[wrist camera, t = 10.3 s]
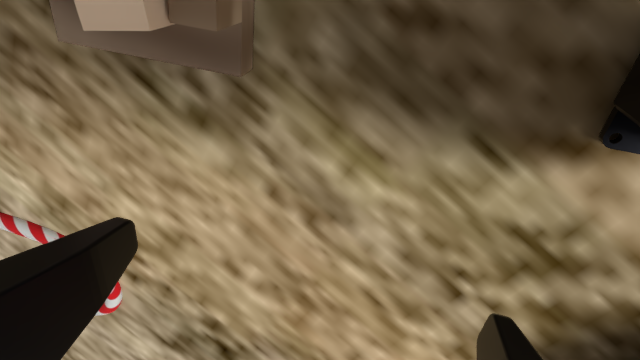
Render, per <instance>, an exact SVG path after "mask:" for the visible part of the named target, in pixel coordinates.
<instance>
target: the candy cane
mask: <svg viewBox="0 0 640 360" xmlns="http://www.w3.org/2000/svg"><path fill="white" fill-rule="evenodd" d="M0 229H2V230H6V231H9V232H12V233H15V234H18V235H21V236H23V237H26V238H29V239H32V240H34V241H37V242H40V243H42V244H46V243H48V242H51V241H54V240H56V239H59V238H62V237H64V235H61V234H59V233H57V232H55V231H53V230H50V229H48V228H45V227H43V226H40V225H37V224H34V223H32V222H29V221H26V220H23V219H20V218H17V217H14V216H11V215H7V214H4V213H1V212H0ZM121 301H122V291H121V287H120V284H119V282H117V284H116V285H115V287H114V289H113V290H112V292H111V293H110V295H109V297H108V298H107V299H106V301H105V302H104V304H103V305H102V307H101V308H100V309H99V311H98V312H97V313H96V315H105V314H108V313H111V312H113V311H115V310H116V309H117V308H118V306H119V305H120V303H121Z"/></svg>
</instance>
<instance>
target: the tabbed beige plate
mask: <svg viewBox="0 0 640 360" xmlns="http://www.w3.org/2000/svg"><path fill="white" fill-rule="evenodd" d="M49 2H50V7H51V11H52V15H53V20H54V24H55V28H56V32H57V37H58V41H61V42H66V43H71V44H76V45H81V46H86V47H91V48H96V49H101V50H106V51H112V52H117V53H122V54H127V55H132V56H137V57H142V58H147V59H152V60H157V61H162V62H167V63H172V64H177V65H183V66H188V67H193V68H198V69H203V70H208V71H213V72H218V73H223V74H228V75H233V76H238V77H242V76H243V75H245V74H246V73H248V72H249V71H251V70H252V67H253V33H254V0H168V4H169V17H170V23H173V24H174V25H170V26H167V27H163V28H159V29H156V30H152V31H84V30H83V27H82V24H81V21H80V18H79V15H78V12H77V9H76V6H75V2H74V0H49Z"/></svg>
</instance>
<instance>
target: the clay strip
mask: <svg viewBox="0 0 640 360" xmlns="http://www.w3.org/2000/svg"><path fill="white" fill-rule="evenodd" d="M74 2H75V6H76V9H77V12H78V15H79V18H80V21H81V24H82V27H83V30H84V31H152V30H156V29H159V28H163V27H167V26H170V25H174V24H173V23H170V17H169V4H168V0H74Z"/></svg>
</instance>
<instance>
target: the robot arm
mask: <svg viewBox="0 0 640 360" xmlns="http://www.w3.org/2000/svg"><path fill="white" fill-rule="evenodd" d="M614 105H615V107H614V109H613V111H612V112H611V114H610V116H609V118H608V120H607V121H606V123H605V125H604V127H603V129H602V130H601V132H600V135H599V139H600V141H601V142H602V143H603V144H604V145H605V146H606V147H608V148H611V149H616V150H621V151H626V152H631V153H636V154H640V54H639V56H638V58H637V60H636V62H635V63H634V65H633V67H632V69H631V71H630V72H629V74H628V76H627V78H626V80H625V81H624V83H623V85H622V87H621V89H620V90H619V92H618V94H617V96H616V98H615V99H614ZM615 133H619V134H618V137H617V138H615V139H613V140H609V137H610V136H611V135H612V134H615ZM137 248H138V242H137V236H136V230H135V225H134V223H133V221H131V220H128V219H124V218H120V217H116V218H113V219H110V220H107V221H104V222H102V223H99V224H96V225H94V226H91V227H88V228H86V229H83V230H80V231H78V232H75V233H72V234H70V235H67V236H64V237H62V238H59V239H56V240H54V241H51V242H48V243H46V244H43V245H40V246H38V247H35V248H32V249H29V250H27V251H24V252H21V253H19V254H16V255H13V256H11V257H8V258H5V259H3V260H0V360H61V358H62V357H63V356H64V355H65V353H66V352H67V351H68V349H69V348H70V347H71V346H72V344H73V343H74V342H75V340H76V339H77V338H78V337H79V335H80V334H81V333H82V331H83V330H84V329H85V327H86V326H87V325H88V324H89V322H90V321H91V320H92V318H93V317H94V316H95V315H96V313H97V312H98V311H99V309H100V308H101V307H102V305H103V304H104V302H105V301H106V299H107V298H108V297H109V295H110V293H111V292H112V290H113V289H114V287H115V285H116V284H117V282H118V281H119V279H120V277H121V276H122V274H123V273H124V271H125V270H126V268H127V266H128V265H129V263H130V262H131V260H132V258H133V257H134V255H135V253H136V251H137ZM477 360H543V359H542V358H541V356H540V355H539V354H538V352H537V351H536V350H535V348H534V347H533V346H532V345H531V343H530V342H529V341H528V339H527V338H526V337H525V335H524V334H523V333H522V331H521V330H520V329H519V328H518V326H517V325H516V324H515V322H514V321H513V320H512V319H511V318H509V317H507V316H503V315H499V314H495V313H493V314H491V315H490V316H489V317H488V319H487V321H486V322H485V324H484V326H483V328H482V330H481V332H480V333H479V335H478V339H477Z"/></svg>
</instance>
